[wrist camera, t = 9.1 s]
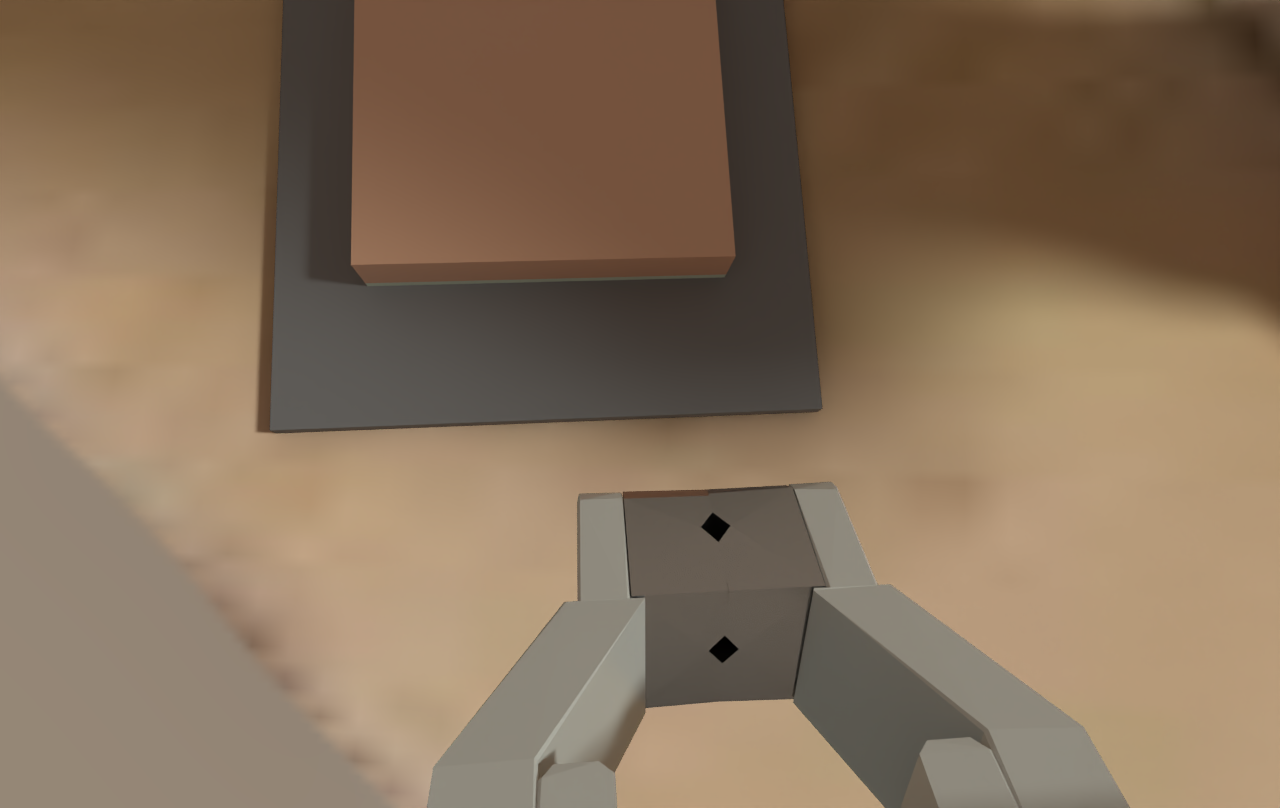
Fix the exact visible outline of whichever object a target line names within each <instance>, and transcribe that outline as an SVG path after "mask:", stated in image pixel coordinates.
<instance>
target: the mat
mask: <svg viewBox="0 0 1280 808" xmlns="http://www.w3.org/2000/svg"><path fill="white" fill-rule="evenodd" d="M716 11H717V24H718V37H719V50H720V63H721V75H722V88H723V101H724V114H725V127H726V139H727V152H728V165H729V178H730V191H731V203H732V216H733V229H734V242H735V255H736V256H735V258H734V260H733V262H732V264H731V266H730V268H729V270H728V272H727V274H726V275H725V277H722V278H682V279H642V280H602V281H561V282H521V283H481V284H441V285H401V286H367V285H366V284H365V282H364V281H363V280H362V278H361V277H360V276H359V275H358V273H357V272H356V271H355V270H354V268H353V267H352V266H351V222H352V147H353V72H354V0H283V25H282V57H281V89H280V121H279V153H278V185H277V217H276V249H275V281H274V312H273V344H272V376H271V408H270V431H272V432H275V433H295V432H320V431H346V430H371V429H396V428H422V427H447V426H472V425H498V424H523V423H548V422H573V421H599V420H624V419H649V418H675V417H700V416H725V415H750V414H776V413H801V412H818V411H819V410H821V409H822V400H821V390H820V379H819V369H818V358H817V348H816V337H815V327H814V316H813V306H812V295H811V285H810V274H809V264H808V253H807V243H806V232H805V222H804V211H803V201H802V190H801V180H800V169H799V159H798V148H797V138H796V127H795V117H794V106H793V96H792V85H791V75H790V64H789V54H788V43H787V33H786V22H785V12H784V1H783V0H716Z"/></svg>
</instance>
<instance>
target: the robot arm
mask: <svg viewBox="0 0 1280 808" xmlns="http://www.w3.org/2000/svg"><path fill="white" fill-rule="evenodd" d="M577 580H578V601H573V602H564V603H563V604H562V606H561V607H560V608H559V610H558V611H557V612H556V613H555V615H554V616H553V617H552V618H551V620H550V621H549V622H548V623H547V625H546V626H545V627H544V628H543V630H542V631H541V632H540V633H539V635H538V636H537V637H536V639H535V640H534V641H533V642H532V644H531V645H530V646H529V647H528V649H527V650H526V651H525V652H524V654H523V655H522V656H521V657H520V659H519V660H518V661H517V662H516V664H515V665H514V666H513V668H512V669H511V670H510V671H509V673H508V674H507V675H506V676H505V678H504V679H503V680H502V681H501V683H500V684H499V685H498V686H497V688H496V689H495V690H494V691H493V693H492V694H491V695H490V697H489V698H488V699H487V700H486V702H485V703H484V704H483V705H482V707H481V708H480V709H479V710H478V712H477V713H476V714H475V715H474V717H473V718H472V719H471V720H470V722H469V723H468V724H467V726H466V727H465V728H464V729H463V731H462V732H461V733H460V734H459V736H458V737H457V738H456V739H455V741H454V742H453V743H452V744H451V746H450V747H449V748H448V749H447V751H446V752H445V753H444V755H443V756H442V757H441V758H440V760H439V761H438V762H437V763H436V765H435V766H434V767H433V773H432V779H431V785H430V792H429V798H428V804H427V808H617V798H616V779H615V771H616V769H617V767H618V765H619V763H620V761H621V759H622V757H623V755H624V753H625V751H626V749H627V748H628V746H629V744H630V742H631V740H632V738H633V736H634V734H635V732H636V730H637V728H638V726H639V724H640V722H641V720H642V719H643V717H644V715H645V708H651V707H662V706H674V705H685V704H696V703H707V702H718V701H749V700H778V699H794V702H793V703H794V704H795V705H796V706H797V707H798V709H799V710H800V711H801V712H802V713H803V714H804V715H805V717H806V718H807V719H808V720H809V721H810V722H811V723H812V725H813V726H814V727H815V728H816V729H817V730H818V731H819V733H820V734H821V735H822V736H823V737H824V738H825V739H826V741H827V742H828V743H829V744H830V745H831V746H832V747H833V749H834V750H835V751H836V752H837V753H838V754H839V755H840V757H841V758H842V759H843V760H844V761H845V762H846V763H847V765H848V766H849V767H850V768H851V769H852V770H853V771H854V773H855V774H856V775H857V776H858V777H859V778H860V779H861V781H862V782H863V783H864V784H865V785H866V786H867V787H868V789H869V790H870V791H871V792H872V793H873V794H874V795H875V797H876V798H877V799H878V800H879V801H880V802H881V803H882V805H883V806H884V807H885V808H1130V807H1129V805H1128V803H1127V802H1126V800H1125V798H1124V796H1123V795H1122V793H1121V791H1120V789H1119V788H1118V786H1117V784H1116V782H1115V781H1114V779H1113V777H1112V775H1111V774H1110V772H1109V770H1108V768H1107V767H1106V765H1105V763H1104V761H1103V760H1102V758H1101V756H1100V754H1099V753H1098V751H1097V749H1096V747H1095V746H1094V744H1093V742H1092V741H1091V739H1090V737H1089V735H1088V734H1087V732H1086V730H1085V728H1084V727H1083V726H1082V725H1080V724H1079V723H1077V722H1076V721H1075V720H1073V719H1072V718H1071V717H1069V716H1068V715H1067V714H1065V713H1064V712H1063V711H1061V710H1060V709H1059V708H1057V707H1056V706H1055V705H1053V704H1052V703H1050V702H1049V701H1048V700H1046V699H1045V698H1044V697H1042V696H1041V695H1040V694H1038V693H1037V692H1036V691H1034V690H1033V689H1032V688H1030V687H1029V686H1027V685H1026V684H1025V683H1023V682H1022V681H1021V680H1019V679H1018V678H1017V677H1015V676H1014V675H1013V674H1011V673H1010V672H1009V671H1007V670H1006V669H1004V668H1003V667H1002V666H1000V665H999V664H998V663H996V662H995V661H994V660H992V659H991V658H990V657H988V656H987V655H986V654H984V653H983V652H981V651H980V650H979V649H977V648H976V647H975V646H973V645H972V644H971V643H969V642H968V641H967V640H965V639H964V638H963V637H961V636H960V635H959V634H957V633H956V632H954V631H953V630H952V629H950V628H949V627H948V626H946V625H945V624H944V623H942V622H941V621H940V620H938V619H937V618H936V617H934V616H933V615H931V614H930V613H929V612H927V611H926V610H925V609H923V608H922V607H921V606H919V605H918V604H917V603H915V602H914V601H913V600H911V599H910V598H908V597H907V596H906V595H904V594H903V593H902V592H900V591H899V590H898V589H896V588H895V587H894V586H892V585H891V584H888V585H878V584H877V582H876V580H875V577H874V575H873V572H872V570H871V567H870V565H869V563H868V560H867V558H866V555H865V553H864V551H863V548H862V546H861V543H860V541H859V539H858V536H857V534H856V531H855V529H854V527H853V524H852V522H851V519H850V517H849V515H848V512H847V510H846V507H845V505H844V502H843V500H842V498H841V495H840V493H839V490H838V488H837V487H836V486H835V485H834V484H833V483H832V482H819V483H804V484H790V485H789V486H786V485H783V486H765V487H746V488H728V489H710V490H676V491H635V492H623V497H622V494H621V493H586V494H579V497H578V502H577Z"/></svg>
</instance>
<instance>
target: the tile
mask: <svg viewBox="0 0 1280 808" xmlns="http://www.w3.org/2000/svg"><path fill="white" fill-rule="evenodd" d="M735 256H736V255H735V242H734V229H733V216H732V203H731V191H730V178H729V165H728V152H727V139H726V127H725V114H724V101H723V88H722V75H721V63H720V50H719V37H718V24H717V11H716V0H354V72H353V147H352V222H351V266H352V267H353V268H354V270H355V271H356V272H357V273H358V275H359V276H360V277H361V278H362V280H363V281H364V282H365V284H366V285H367V286H401V285H441V284H481V283H521V282H561V281H602V280H642V279H682V278H722V277H725V275H726V274H727V272H728V270H729V268H730V266H731V264H732V262H733V260H734V258H735Z"/></svg>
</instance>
